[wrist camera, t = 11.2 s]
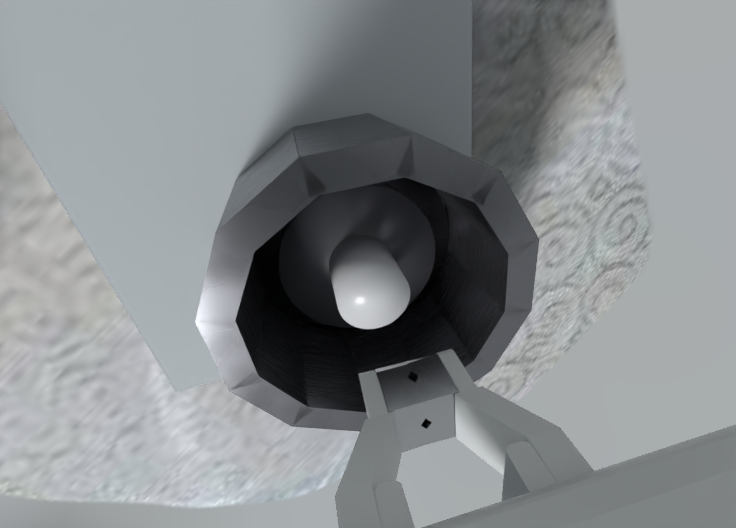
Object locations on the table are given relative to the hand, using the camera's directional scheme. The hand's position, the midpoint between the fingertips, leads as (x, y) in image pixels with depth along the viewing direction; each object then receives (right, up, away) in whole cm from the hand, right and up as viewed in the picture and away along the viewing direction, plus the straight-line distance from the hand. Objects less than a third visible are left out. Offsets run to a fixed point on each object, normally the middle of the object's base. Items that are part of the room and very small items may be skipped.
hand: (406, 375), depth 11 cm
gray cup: (-2, +4, +7) cm, 9 cm away
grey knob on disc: (-2, +4, +7) cm, 8 cm away
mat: (-5, +8, +5) cm, 11 cm away
